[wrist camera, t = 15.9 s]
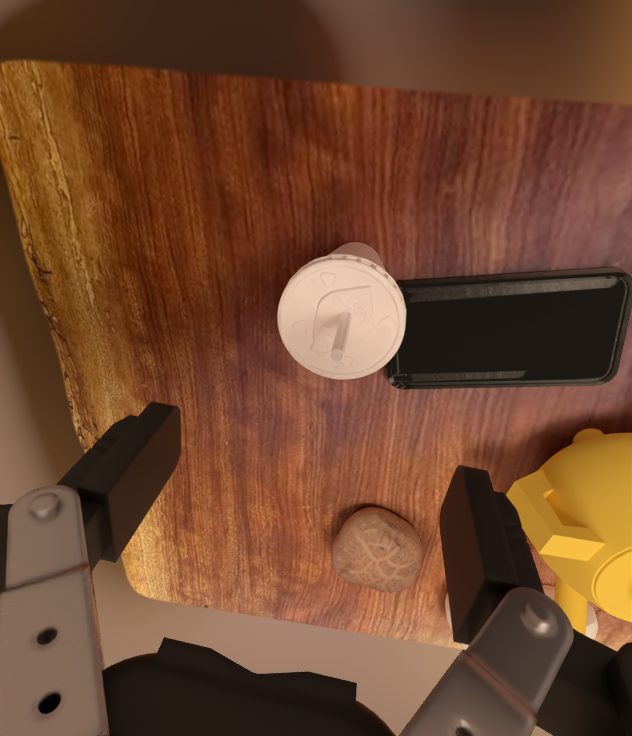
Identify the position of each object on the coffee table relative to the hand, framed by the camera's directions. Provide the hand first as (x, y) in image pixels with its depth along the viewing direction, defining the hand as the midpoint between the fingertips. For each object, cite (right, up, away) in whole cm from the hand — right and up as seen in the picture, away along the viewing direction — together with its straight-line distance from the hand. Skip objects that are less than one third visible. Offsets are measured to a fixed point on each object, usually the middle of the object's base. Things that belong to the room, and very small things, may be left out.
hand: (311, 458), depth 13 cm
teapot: (+22, -6, +22) cm, 32 cm away
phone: (+13, +5, +18) cm, 22 cm away
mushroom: (+6, -13, +29) cm, 32 cm away
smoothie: (+3, +9, +18) cm, 20 cm away
